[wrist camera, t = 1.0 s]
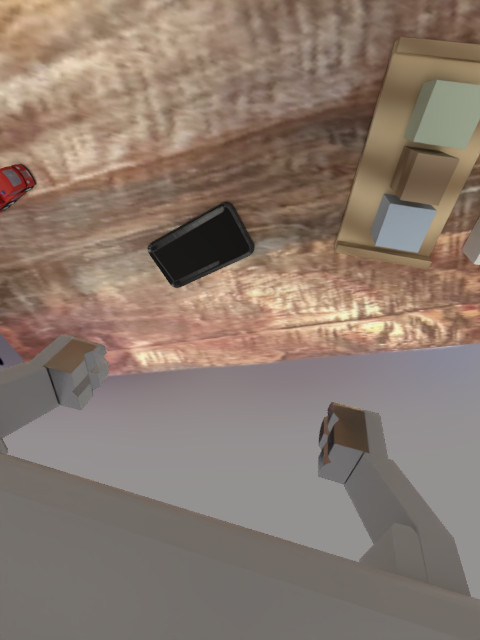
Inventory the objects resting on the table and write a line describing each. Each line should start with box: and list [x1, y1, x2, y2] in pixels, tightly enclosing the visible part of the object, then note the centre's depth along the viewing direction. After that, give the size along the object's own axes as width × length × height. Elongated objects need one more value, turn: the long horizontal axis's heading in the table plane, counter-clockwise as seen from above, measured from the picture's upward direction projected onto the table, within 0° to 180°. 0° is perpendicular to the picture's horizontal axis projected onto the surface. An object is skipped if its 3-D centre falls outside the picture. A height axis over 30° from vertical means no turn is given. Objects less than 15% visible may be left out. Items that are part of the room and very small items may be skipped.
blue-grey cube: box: [370, 194, 437, 253], centre depth 35 cm, size 4×4×4 cm
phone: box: [148, 202, 254, 288], centre depth 45 cm, size 8×1×15 cm
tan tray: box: [335, 37, 480, 269], centre depth 32 cm, size 20×11×8 cm, turn 174°
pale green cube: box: [404, 80, 480, 150], centre depth 29 cm, size 4×4×4 cm
